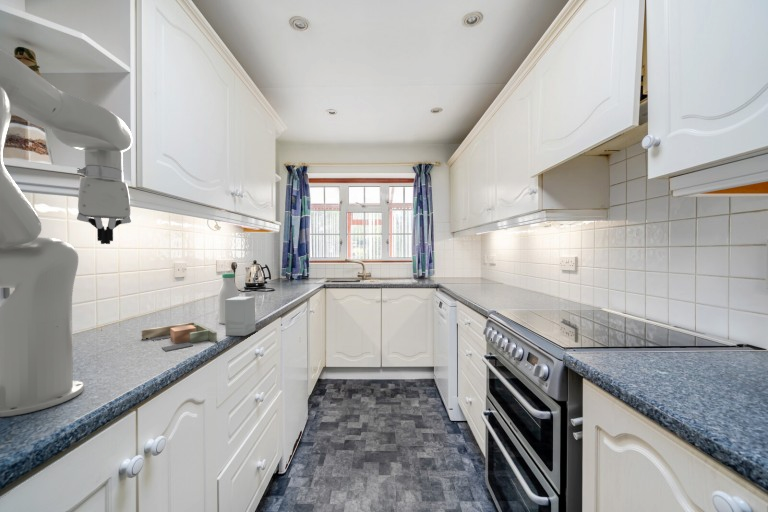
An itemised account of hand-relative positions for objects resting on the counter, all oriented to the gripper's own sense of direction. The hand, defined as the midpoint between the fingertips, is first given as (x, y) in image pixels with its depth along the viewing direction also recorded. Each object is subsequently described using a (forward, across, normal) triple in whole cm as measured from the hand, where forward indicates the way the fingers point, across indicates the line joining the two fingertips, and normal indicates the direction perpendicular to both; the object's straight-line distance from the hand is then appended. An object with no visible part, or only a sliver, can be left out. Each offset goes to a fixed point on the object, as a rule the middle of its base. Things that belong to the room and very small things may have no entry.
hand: (105, 243), depth 82 cm
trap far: (+31, +16, +12) cm, 37 cm away
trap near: (+31, +16, -4) cm, 35 cm away
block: (+31, +19, +4) cm, 37 cm away
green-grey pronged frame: (+31, +18, +4) cm, 36 cm away
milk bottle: (+31, +39, +19) cm, 53 cm away
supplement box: (+31, +35, -2) cm, 47 cm away
